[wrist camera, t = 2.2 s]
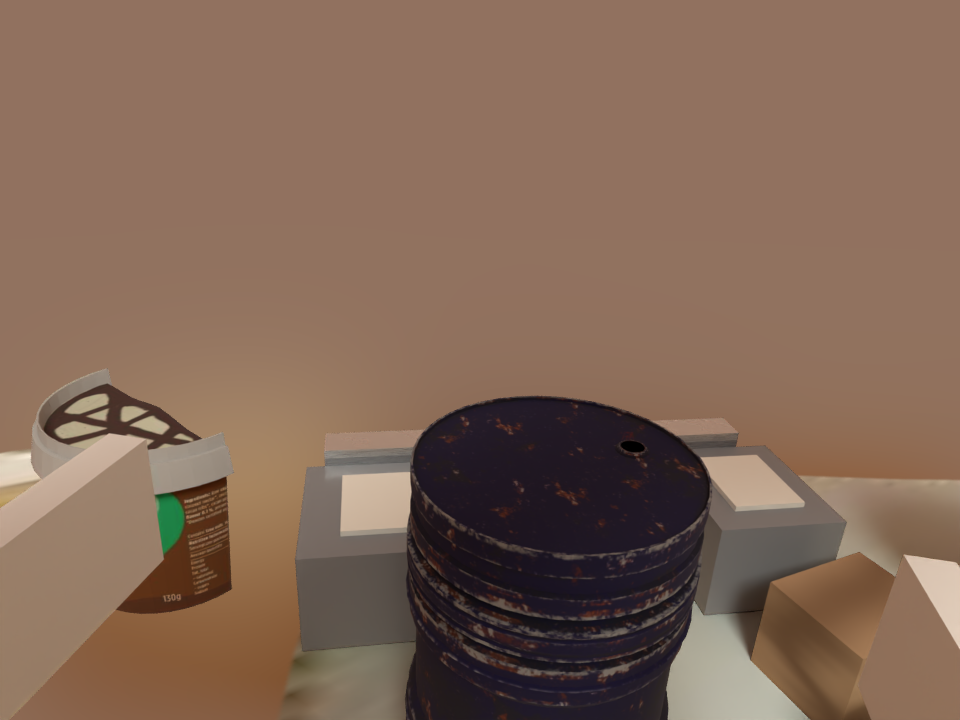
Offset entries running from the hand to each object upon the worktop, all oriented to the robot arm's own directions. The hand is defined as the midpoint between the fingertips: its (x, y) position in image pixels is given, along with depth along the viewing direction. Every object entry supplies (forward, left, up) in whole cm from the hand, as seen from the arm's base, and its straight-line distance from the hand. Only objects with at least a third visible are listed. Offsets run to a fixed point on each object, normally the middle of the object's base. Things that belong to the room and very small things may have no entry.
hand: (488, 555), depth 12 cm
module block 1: (+21, +1, -19) cm, 28 cm away
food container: (+23, +15, -19) cm, 33 cm away
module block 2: (+21, -19, -19) cm, 34 cm away
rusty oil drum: (+9, -4, -19) cm, 21 cm away
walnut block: (+12, -20, -19) cm, 30 cm away
